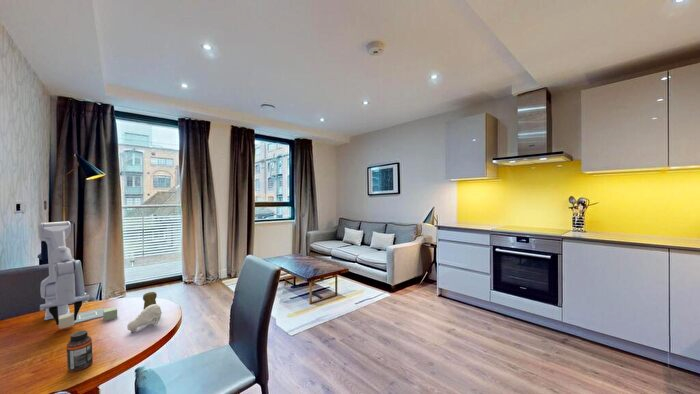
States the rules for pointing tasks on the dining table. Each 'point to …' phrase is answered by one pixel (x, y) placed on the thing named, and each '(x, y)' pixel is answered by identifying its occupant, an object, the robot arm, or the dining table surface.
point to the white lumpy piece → (146, 317)
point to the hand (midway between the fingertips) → (66, 321)
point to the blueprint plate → (89, 315)
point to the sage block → (110, 313)
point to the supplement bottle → (79, 351)
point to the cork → (149, 299)
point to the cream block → (66, 320)
